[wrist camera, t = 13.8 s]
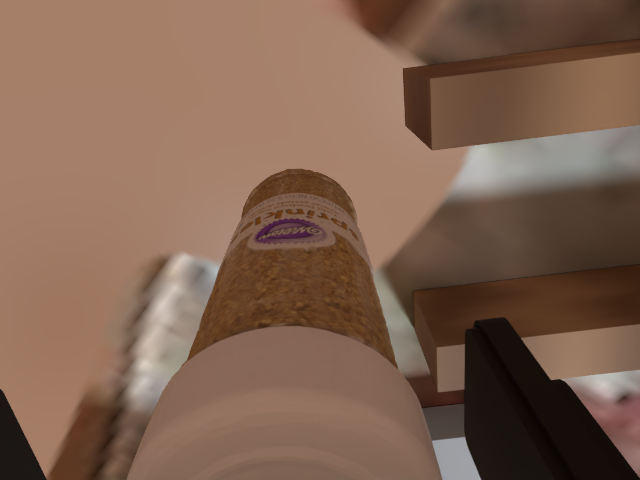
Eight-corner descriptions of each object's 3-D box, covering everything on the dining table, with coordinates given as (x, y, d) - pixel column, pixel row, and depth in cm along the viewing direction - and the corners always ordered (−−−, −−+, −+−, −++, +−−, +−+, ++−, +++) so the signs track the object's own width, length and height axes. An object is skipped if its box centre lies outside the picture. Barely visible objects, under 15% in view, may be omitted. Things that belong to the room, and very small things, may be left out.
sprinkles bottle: (336, 150, 18) (409, 360, 5) (369, 257, 20) (486, 612, 7) (222, 188, 18) (43, 465, 6) (264, 290, 20) (194, 681, 7)
